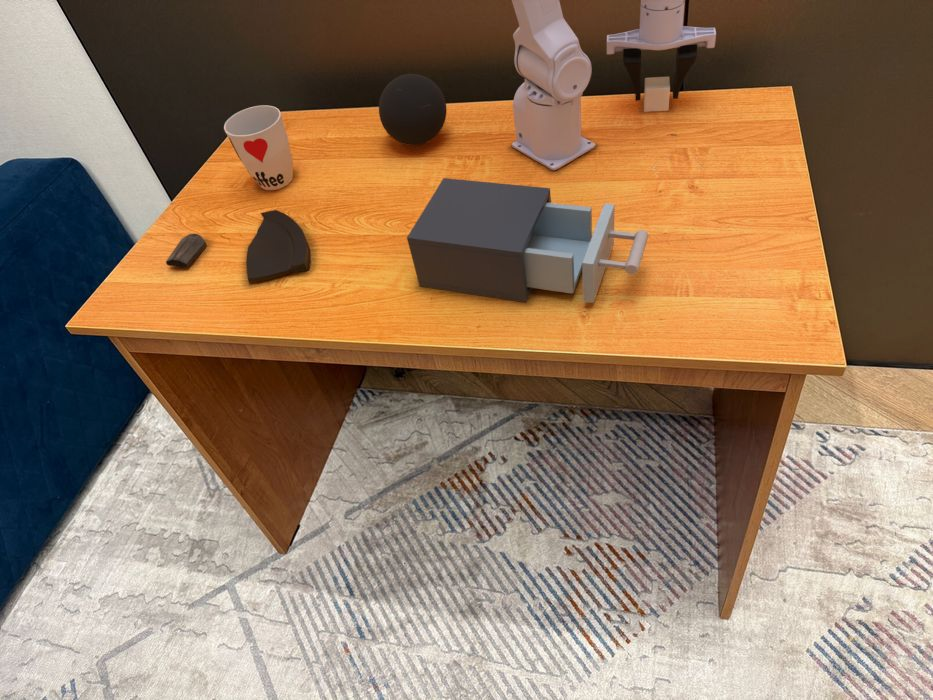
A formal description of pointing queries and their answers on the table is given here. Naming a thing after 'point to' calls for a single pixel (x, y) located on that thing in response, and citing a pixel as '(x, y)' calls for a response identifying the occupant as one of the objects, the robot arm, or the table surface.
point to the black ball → (412, 109)
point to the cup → (262, 145)
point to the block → (187, 251)
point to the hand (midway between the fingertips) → (656, 96)
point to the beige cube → (656, 94)
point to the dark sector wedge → (277, 248)
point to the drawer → (576, 249)
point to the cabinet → (477, 237)
